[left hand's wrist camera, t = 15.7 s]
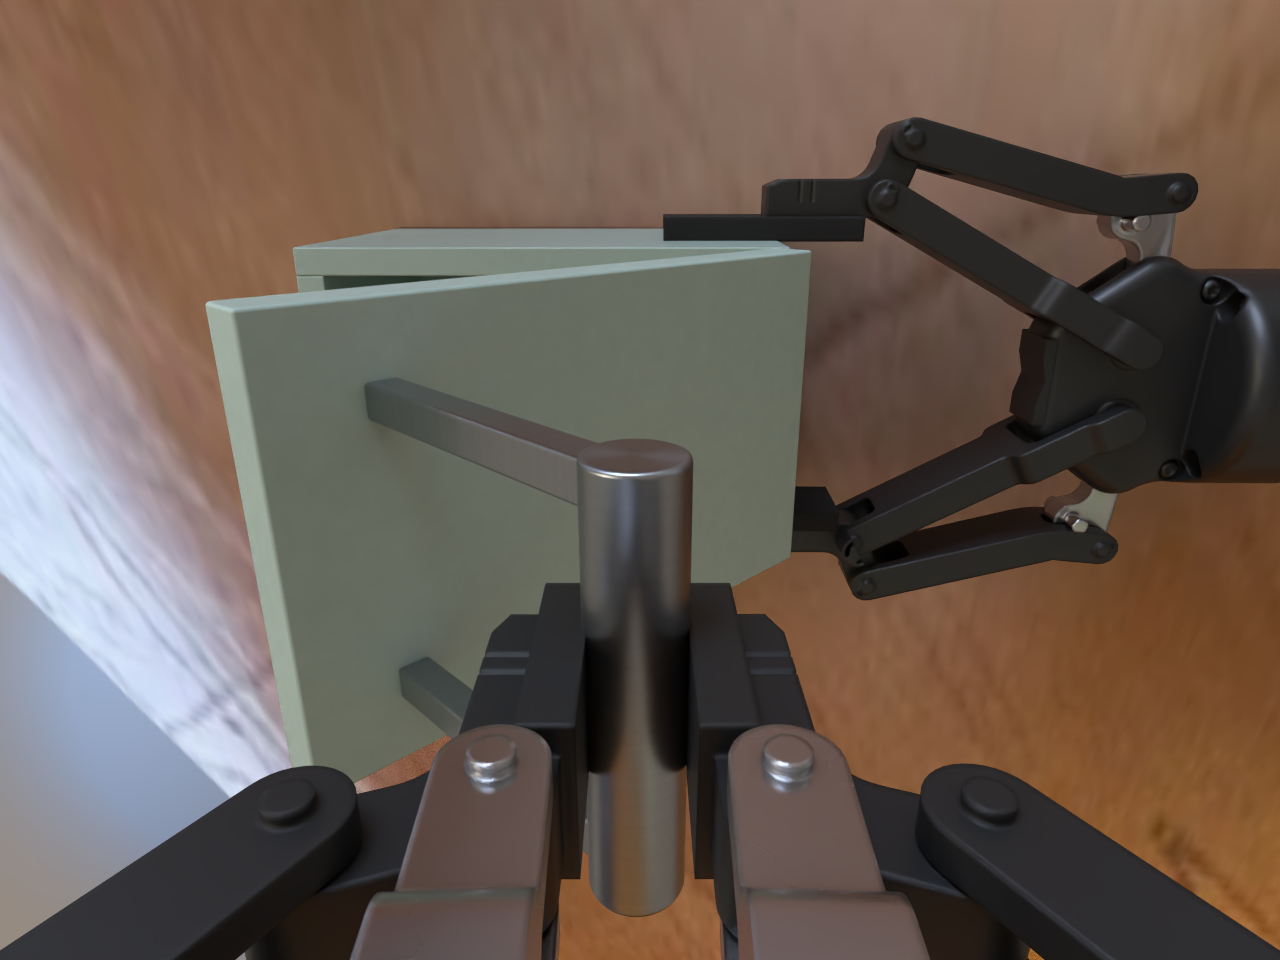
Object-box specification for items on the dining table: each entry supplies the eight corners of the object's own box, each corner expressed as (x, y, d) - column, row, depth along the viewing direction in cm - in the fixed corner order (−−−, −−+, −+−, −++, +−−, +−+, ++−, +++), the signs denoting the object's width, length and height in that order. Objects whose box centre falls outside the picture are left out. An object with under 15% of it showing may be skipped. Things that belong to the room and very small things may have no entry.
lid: (291, 772, 17) (551, 1084, 11) (203, 301, 13) (510, 390, 8) (760, 546, 27) (1021, 645, 21) (776, 247, 24) (1092, 269, 18)
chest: (423, 442, 38) (334, 539, 28) (402, 227, 34) (291, 247, 24) (742, 444, 37) (773, 543, 27) (752, 227, 34) (791, 247, 24)
